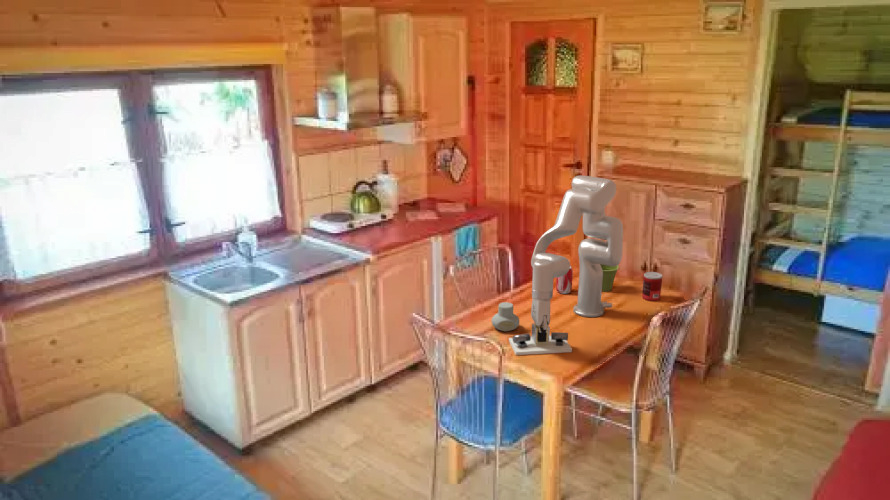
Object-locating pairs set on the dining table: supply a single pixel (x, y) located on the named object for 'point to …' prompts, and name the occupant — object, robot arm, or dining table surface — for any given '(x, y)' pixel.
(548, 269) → the robot arm
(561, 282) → the soda can
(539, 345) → the board
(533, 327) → the tan box
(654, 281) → the canned food
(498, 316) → the air freshener
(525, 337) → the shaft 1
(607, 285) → the plant pot
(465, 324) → the dining table surface
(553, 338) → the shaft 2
